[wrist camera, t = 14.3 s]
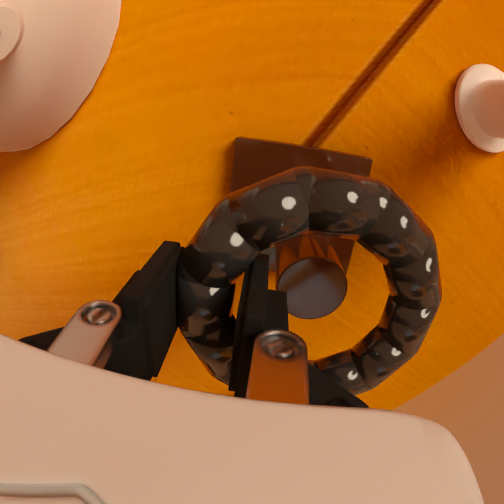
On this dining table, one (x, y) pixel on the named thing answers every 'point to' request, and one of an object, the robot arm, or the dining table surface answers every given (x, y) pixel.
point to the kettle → (49, 63)
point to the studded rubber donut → (298, 224)
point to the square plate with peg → (307, 246)
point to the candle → (481, 106)
